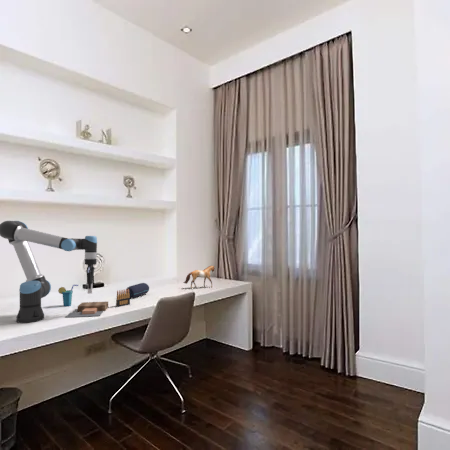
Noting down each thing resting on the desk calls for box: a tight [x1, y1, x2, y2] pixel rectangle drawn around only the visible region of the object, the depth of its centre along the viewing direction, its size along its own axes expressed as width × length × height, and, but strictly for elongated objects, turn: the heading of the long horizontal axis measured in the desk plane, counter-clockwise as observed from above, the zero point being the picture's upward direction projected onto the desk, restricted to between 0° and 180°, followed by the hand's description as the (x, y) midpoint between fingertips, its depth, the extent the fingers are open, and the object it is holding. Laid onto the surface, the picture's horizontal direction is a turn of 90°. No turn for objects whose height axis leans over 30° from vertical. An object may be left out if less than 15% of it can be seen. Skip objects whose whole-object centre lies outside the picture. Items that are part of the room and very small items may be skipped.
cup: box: [58, 284, 79, 307], centre depth 251 cm, size 14×8×15 cm, turn 134°
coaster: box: [82, 308, 97, 314], centre depth 228 cm, size 8×8×2 cm
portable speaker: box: [126, 282, 150, 299], centre depth 285 cm, size 25×10×10 cm, turn 161°
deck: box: [77, 301, 109, 312], centre depth 238 cm, size 18×12×4 cm, turn 99°
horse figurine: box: [183, 265, 215, 289], centre depth 323 cm, size 31×8×21 cm, turn 109°
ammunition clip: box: [115, 288, 131, 308], centre depth 250 cm, size 11×2×12 cm, turn 140°
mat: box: [64, 311, 104, 319], centre depth 224 cm, size 21×12×1 cm, turn 99°
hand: (89, 293), depth 230 cm, fingers closed
